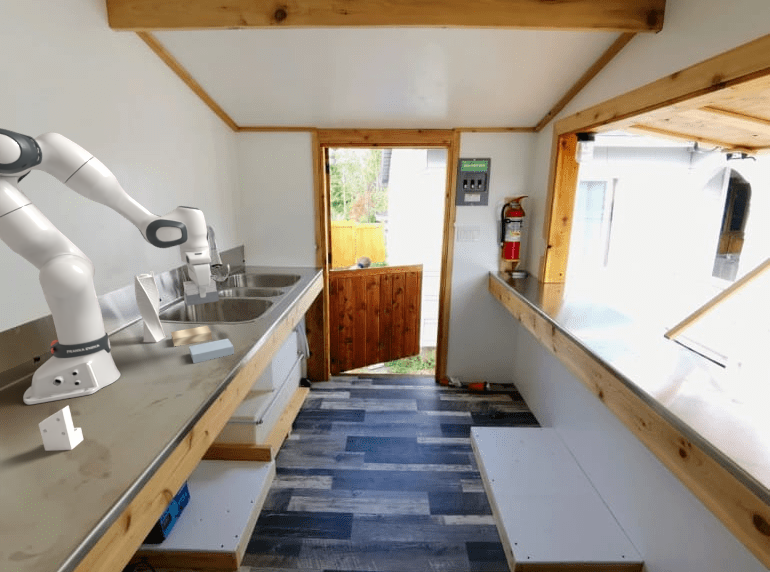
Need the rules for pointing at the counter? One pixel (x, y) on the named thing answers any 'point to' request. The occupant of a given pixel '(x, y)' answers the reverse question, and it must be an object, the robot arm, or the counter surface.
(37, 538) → the counter surface
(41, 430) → the white angled block
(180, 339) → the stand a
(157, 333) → the skyscraper
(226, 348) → the stand
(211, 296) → the block
